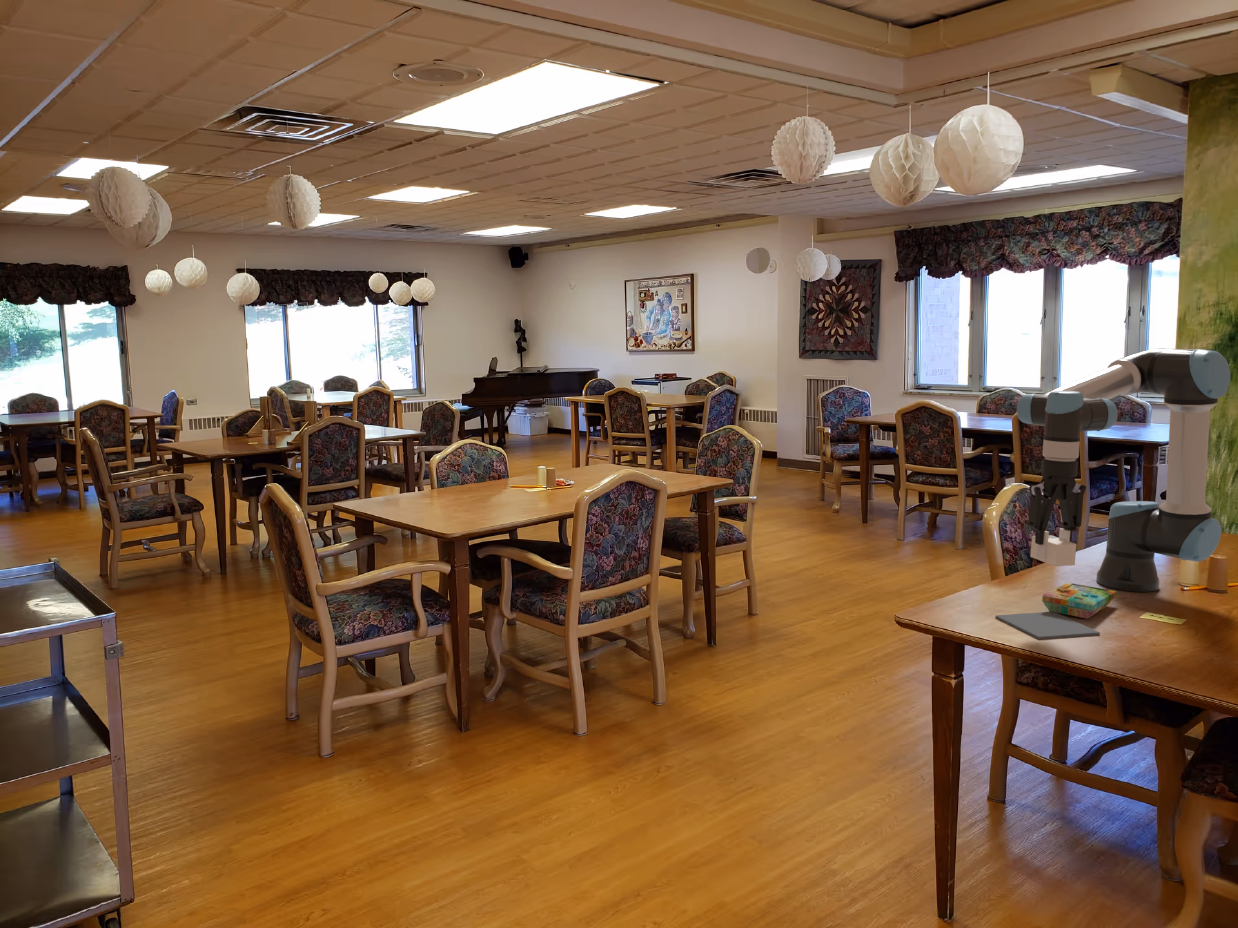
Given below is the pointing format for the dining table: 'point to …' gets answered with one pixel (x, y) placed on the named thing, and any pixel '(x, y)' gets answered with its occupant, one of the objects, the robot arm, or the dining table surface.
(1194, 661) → the dining table surface
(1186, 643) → the dining table surface
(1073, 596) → the puzzle game
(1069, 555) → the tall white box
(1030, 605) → the dining table surface
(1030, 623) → the mat
